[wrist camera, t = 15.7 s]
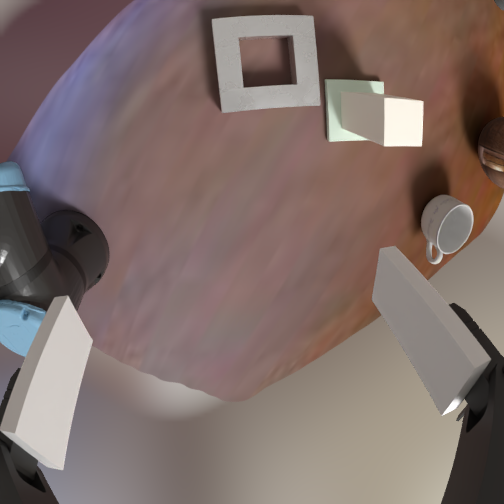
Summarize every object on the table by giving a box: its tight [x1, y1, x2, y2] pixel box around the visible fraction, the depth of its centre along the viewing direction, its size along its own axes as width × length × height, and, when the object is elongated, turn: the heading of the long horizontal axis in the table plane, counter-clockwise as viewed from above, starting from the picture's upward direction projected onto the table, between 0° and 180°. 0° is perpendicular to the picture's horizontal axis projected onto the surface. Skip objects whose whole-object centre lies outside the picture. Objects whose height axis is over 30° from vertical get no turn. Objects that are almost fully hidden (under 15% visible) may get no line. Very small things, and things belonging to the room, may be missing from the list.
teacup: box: [421, 195, 473, 264], centre depth 53 cm, size 14×11×8 cm
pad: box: [324, 79, 384, 141], centre depth 43 cm, size 10×10×1 cm
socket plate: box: [211, 15, 320, 113], centre depth 37 cm, size 14×14×3 cm
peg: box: [341, 92, 423, 146], centre depth 37 cm, size 6×6×13 cm
